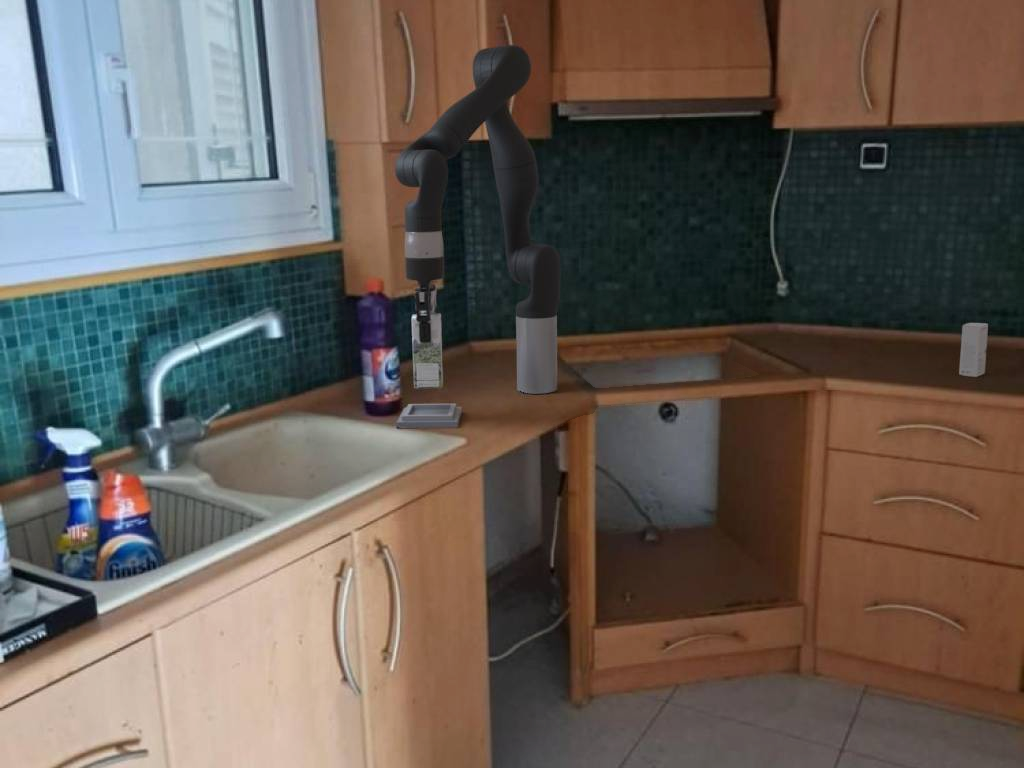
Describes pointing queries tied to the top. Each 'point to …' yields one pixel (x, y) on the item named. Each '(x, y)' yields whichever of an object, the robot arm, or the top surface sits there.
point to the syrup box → (427, 355)
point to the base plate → (430, 416)
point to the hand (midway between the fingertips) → (427, 339)
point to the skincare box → (973, 349)
